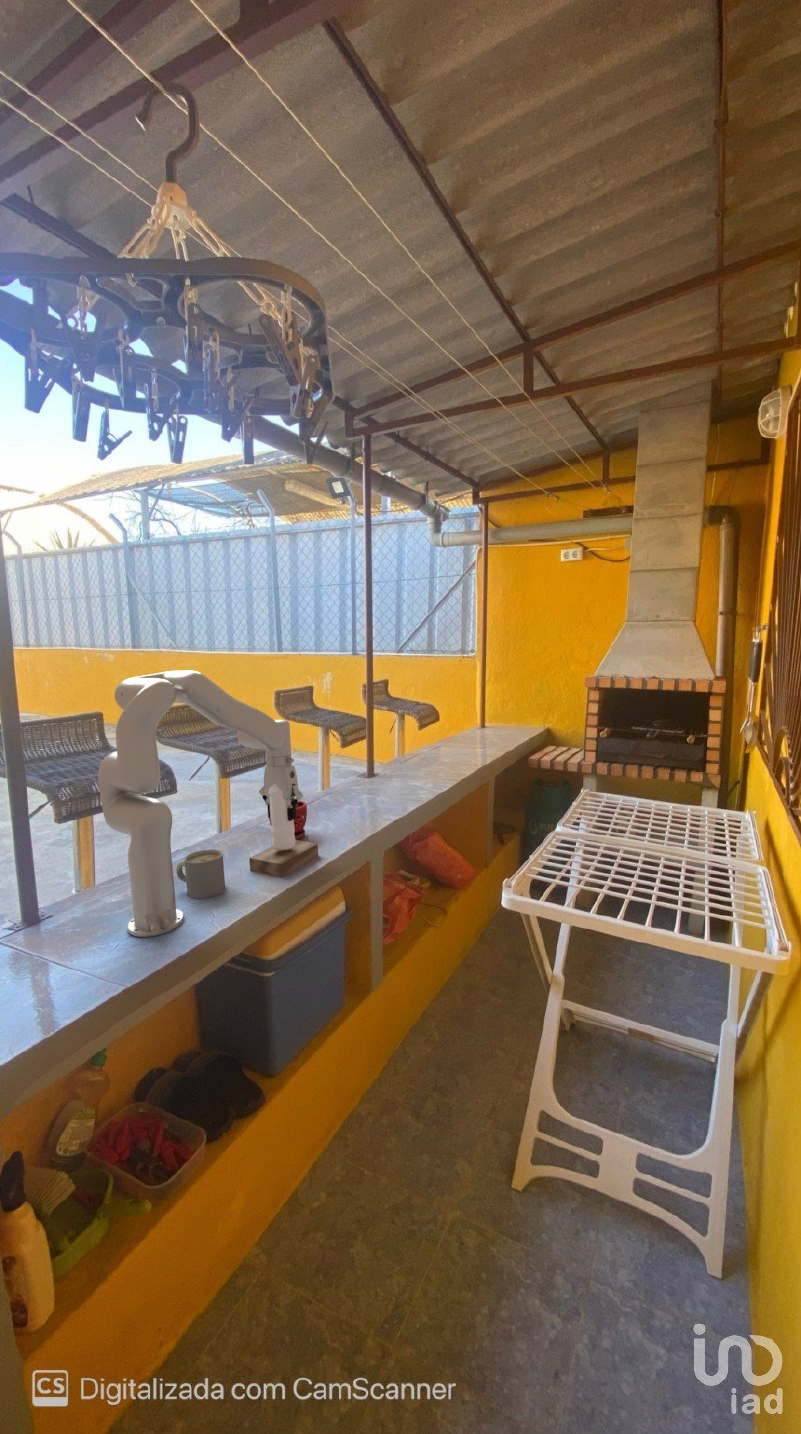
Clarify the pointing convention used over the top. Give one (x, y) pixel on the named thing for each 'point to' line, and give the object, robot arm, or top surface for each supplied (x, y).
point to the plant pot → (299, 820)
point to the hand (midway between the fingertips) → (282, 817)
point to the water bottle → (280, 821)
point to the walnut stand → (283, 859)
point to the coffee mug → (203, 873)
